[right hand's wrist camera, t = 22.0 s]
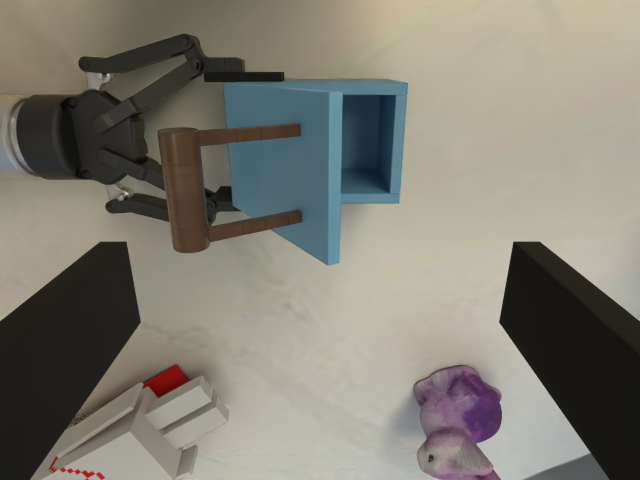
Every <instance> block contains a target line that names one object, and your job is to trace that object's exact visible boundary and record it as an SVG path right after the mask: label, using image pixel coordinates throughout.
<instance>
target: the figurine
mask: <svg viewBox="0 0 640 480" xmlns="http://www.w3.org/2000/svg"><path fill="white" fill-rule="evenodd" d="M415 395H416V396H415V397H416V400H417V403H419V405H420V406H421V407H422V408H421V411H420V422H421V426H422V428H423V431H424V433H425V435H426V437H427V439H426V441H425V442H424V443H423V444H422V446H421V447H420V448H419V450H418V452H417V459H418V462H419V466H420V469H421V470H422V471H423V472H425V473H427V474H429V475H431V476H433V477H435V478H438V479H441V480H501V479H500V478H499V476H498V475H497V474H496V472H495V471H494V470H493V465H492V464H491V462H490V461H489V460H488V459H487V457H486V456H485V455H484V454H483V452H482V451H481V450H480V448H479V447H478V446H477V445H476V443H479V442H482V441H485V440H487V439H489V438H490V437H492V436H493V435H495V434H496V433H497V431H498V430H499V428H500V425H501V420H502V410H501V405H500V403H499V402H500V400H501V397H502V395H501V392H500V391H499V390H498V389H497V388H495V387H492V386H490V385H487V384H485V383H483V382H482V380H481V378H480V376H479V374H478V373H477V371H476V370H475V369H473V368H471V367H468V366H458V367H452V368H447V369H443V370H440V371H437V372H436V373H434V374H433V375H431V376H430V377H429V378H427V379H425V380H423V381H420V382H418V383H417V384H416V385H415Z"/></svg>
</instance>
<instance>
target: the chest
mask: <svg viewBox="0 0 640 480" xmlns="http://www.w3.org/2000/svg"><path fill="white" fill-rule="evenodd" d="M233 83H238V84H251V85H264V86H277V87H290V88H303V89H315V90H328V91H341V92H342V93H343V97H342V151H341V203H399V200H400V185H401V171H402V157H403V143H404V129H405V114H406V100H407V88H408V83H404V82H399V81H394V80H389V79H284V81H282V82H233Z"/></svg>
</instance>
